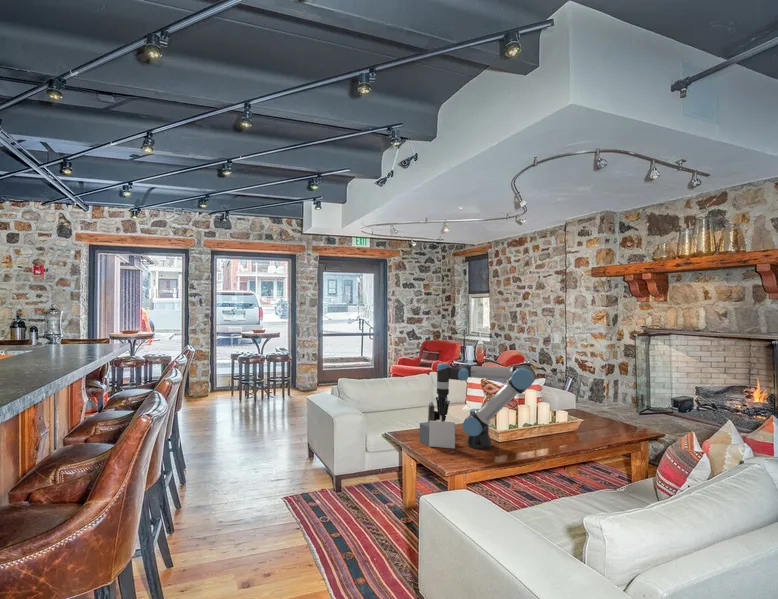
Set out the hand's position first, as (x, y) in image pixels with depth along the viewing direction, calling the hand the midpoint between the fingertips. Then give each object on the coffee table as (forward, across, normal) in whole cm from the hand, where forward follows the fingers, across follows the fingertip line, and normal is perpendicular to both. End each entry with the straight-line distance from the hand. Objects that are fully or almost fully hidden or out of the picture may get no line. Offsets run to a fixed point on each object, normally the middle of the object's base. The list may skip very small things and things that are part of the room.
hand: (442, 425), depth 294 cm
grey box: (+14, +10, -1) cm, 17 cm away
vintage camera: (+14, +30, -17) cm, 37 cm away
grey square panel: (+13, -2, +1) cm, 13 cm away
